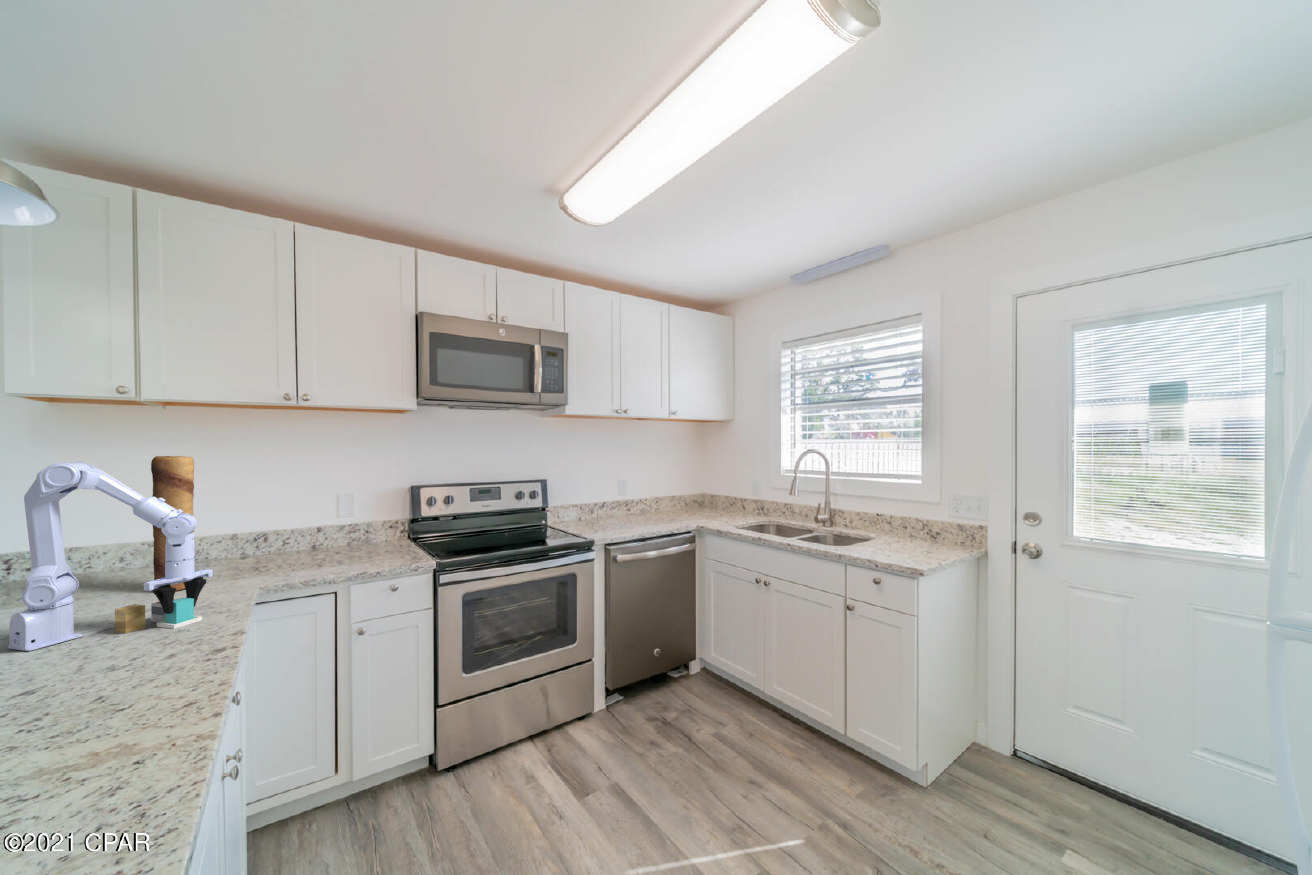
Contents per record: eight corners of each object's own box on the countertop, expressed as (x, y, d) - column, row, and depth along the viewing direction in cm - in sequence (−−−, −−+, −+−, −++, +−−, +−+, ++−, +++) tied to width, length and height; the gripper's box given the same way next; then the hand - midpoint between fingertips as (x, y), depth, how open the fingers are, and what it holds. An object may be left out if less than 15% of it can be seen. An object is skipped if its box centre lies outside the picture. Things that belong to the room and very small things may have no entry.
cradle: (174, 628, 129) (174, 624, 129) (156, 626, 131) (156, 622, 131) (201, 620, 135) (201, 616, 135) (184, 618, 137) (184, 614, 137)
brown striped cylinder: (150, 589, 166) (151, 456, 167) (193, 583, 174) (194, 455, 174) (149, 595, 159) (150, 456, 160) (194, 588, 166) (195, 455, 167)
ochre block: (125, 633, 126) (125, 610, 126) (114, 632, 127) (114, 609, 127) (145, 628, 130) (145, 605, 130) (134, 626, 131) (134, 604, 131)
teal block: (176, 625, 131) (176, 603, 131) (165, 624, 132) (165, 602, 132) (193, 620, 134) (193, 598, 134) (183, 619, 135) (183, 597, 136)
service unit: (163, 623, 133) (163, 604, 133) (150, 621, 134) (150, 603, 134) (183, 617, 137) (183, 599, 138) (170, 616, 139) (170, 598, 139)
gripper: (157, 566, 125) (157, 620, 125) (220, 554, 139) (220, 602, 139) (138, 565, 127) (137, 618, 127) (202, 553, 141) (202, 600, 141)
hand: (179, 609), depth 133 cm, fingers open, 5 cm apart
